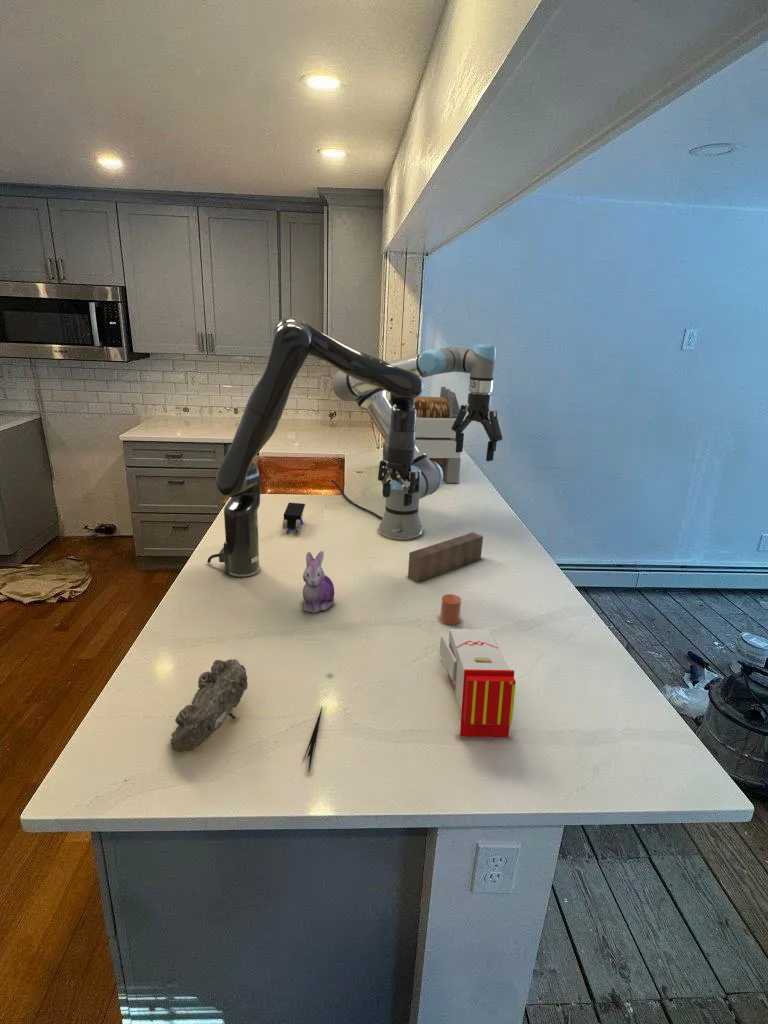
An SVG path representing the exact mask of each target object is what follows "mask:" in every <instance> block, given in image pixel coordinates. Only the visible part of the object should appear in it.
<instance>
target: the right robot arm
mask: <svg viewBox="0 0 768 1024" xmlns="http://www.w3.org/2000/svg"><path fill="white" fill-rule="evenodd" d="M496 358H497V347H496V345H495V344H493V343H481V342H479V343H477V342H476V343H473V345H472V348H461V347H452V346H446V347H445V346H443V347H440V348H431V349H427V350H425V351H423V352H421V353H417V354H412V355H409V356H405V357H401V358H398V359H397V358H396V359H394V360H390V361H386V362H387V363H389V364H391V365H393V366H396V367H399V368H402V369H406V370H409V371H411V372H413V373H415V374H417V375H418V376H419V377H420V378H421V379H422V378H423V379H424V378H428V377H432V376H437V375H441V374H448V373H464V374H465V373H466V374H469V384H468V391H469V393H468V394H467V404H461V405H460V406H459V408H460V412H459V414H458V416H457V418H456V420H455V422H454V424H453V426H452V428H451V429H452V430H454V431H455V433H456V438H455V442H456V453H458V452H461V453H462V452H463V448H464V437H465V433H464V431H465V429H467V427H468V426H469V425H470V424H471V423H472V422H477V423H480V424H481V425H482V427H483V429H484V431H485V433H486V435H487V437H488V439H489V440H488V442H487V448H486V455H485V456H486V457H485V461H486V462H491V461H494V456H495V452H496V451H497V444H498V442H500V441H503V435H502V430H501V427H500V423H499V419H498V410H495V409H494V410H490V406H491V404H492V394H491V393H493V387H494V386H493V385H494V373H495V366H496V362H497V361H496V360H497V359H496ZM331 383H332V384H331V386H332V391H333V393H334V394H335V396H336V397H337V398H338V399H340V400H341V401H343V402H356V404H357V405H358V407H359V409H360V410H364V411H366V412H367V414H368V416H369V417H370V419H371V421H372V422H373V424H374V425H375V427H376V428H377V431H379V433H380V435H381V436H382V438H383V441H384V440H385V441H386V443H387V445H388V435H389V430H390V419H391V405H390V404H389V400H388V399H387V395H388V391H386V390H384V389H382V388H379V387H376V386H372V385H369V384H367V383H364V382H362V381H359V380H357V379H355V378H353V377H350V376H349V375H347V374H345V373H343V372H342V371H340V370H339V371H338V372H336V373H335V375H334V376H333V378H332V381H331ZM463 420H464V421H463ZM462 421H463V422H462ZM461 432H462V433H461ZM385 441H384V442H385ZM411 470H412V471H419V472H420V481H419V492H417V493H413V494H412V503H411V505H410V506H404V505H403V502H404V493H405V491H404V489H403V487H402V486H401V484H400V483H399V482H397V481H396V480H392V482H391V483H390V484H391V489H390V496H389V497H386V498H385V504H384V505H385V507H384V508H385V509H384V513H383V515H382V516H381V515H379V514H378V513H376V512H373V511H372V510H370V509H367V508H365V507H363V506H361V505H359V504H357V503H355V502H354V501H352V500H351V499H350V498H348V496H347V495H346V494H345V493H344V491H343V489H341V487H340V485H339V484H338V483H337V482H336V481H335V480H333V479H331V480H330V482H331V483H332V484H334V485H335V486H336V487H337V489H338V491H339V492H340V493H341V495H342V497H343V498H344V499H345V500H346V501H348V503H350V504H351V505H353V506H354V507H357V508H358V509H360V510H361V511H362V510H363V511H364V512H367V513H369V514H371V515H373V516H375V517H376V518H378V519H379V520H381V522H379V526H378V533H379V534H380V535H381V536H382V537H385V538H387V539H389V540H395V541H410V540H415V539H418V538H420V537H421V536H422V535H423V525H422V524H421V518H420V515H419V507H420V506H419V505H420V500H421V499H423V498H426V497H427V496H429V495H433V494H434V493H436V492H437V491H438V490H439V489H440V488H441V487H442V486H443V481H444V478H443V471H442V469H441V467H440V466H439V465H438V464H437V463H436V462H433V461H430V460H429V458H428V457H427V455H426V454H425V453H421V452H419V450H418V449H417V447H416V445H415V451H414V462H413V463H412V465H411ZM405 482H408V481H407V480H406V481H405ZM407 487H408V486H407ZM414 488H415V485H414ZM408 489H409V487H408Z"/></svg>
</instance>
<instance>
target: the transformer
mask: <svg viewBox="0 0 768 1024" xmlns="http://www.w3.org/2000/svg"><path fill="white" fill-rule="evenodd" d="M388 402H389V404H390V405H391V397H390V398H389V400H388ZM414 407H415V410H416V413H417V420H416V432H415V434H416V441H415V445H416V447H417V449H418V450H419V452H421V453H425V454H426V455H427V457H428V458H429V460H430V461H433V462H436V463H437V464H438V465H439V466H440V467H441V469H442V471H443V480H444V481H445V482H446V484H459V483H460V475H461V473H460V472H461V471H460V470H461V462H462V458H461V453H462V452H458V453H456V442H455V438H456V433H455V431H454V430H452V429H451V428H452V426H453V424H454V422H455V420H456V418H457V416H458V414H459V412H460V405H459V402H458V398H457V395H456V392H454V391H451V389H450V388H446V386H441V387H440V394H439V396H418V397H416V398H414ZM464 420H465V419H463V421H464ZM463 421H462V422H463ZM461 433H463V432H461ZM382 442H383V443H382V461H383V460H386V458H387V443H386V441H385V440H384V439H383V441H382Z"/></svg>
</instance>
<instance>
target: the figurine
mask: <svg viewBox="0 0 768 1024" xmlns="http://www.w3.org/2000/svg"><path fill="white" fill-rule="evenodd" d="M324 556H325V552H324V551H323V550H320V551H319V552H318V553H317V555H316V557H315V558H314V556H313V555H312V552H311V551H308V552H306V556H305V563H306V567H305V568H304V571H303V574H302V579H303V581H304V583H305V584H304V585H303V588H302V596H303V602H302V604H303V609H304V612H308V613H309V612H310V613H318V612H321V611H322V612H323V611H326V610H327V609H329V608H330V607H332V606H333V604H334V600H335V587H334V582H333V581H332V580H331V578H330V577H329V576H327V575H326V574H325V571H324V569H323V567H322V564H323V560H324Z"/></svg>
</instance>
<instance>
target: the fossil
mask: <svg viewBox="0 0 768 1024" xmlns="http://www.w3.org/2000/svg"><path fill="white" fill-rule="evenodd" d="M197 683H198V684H197V687H198V690H197V691H196V693H195V694H194V697H193V698H192V701H191V704H187V705H185V706H184V707H183V708H182V709H181V710H179V712H178V713H177V715H176V717H175V719H174V721H175V723H176V725H177V726H176V728H175V730H174V731H173V732H172V733H171V735H170V736H171V738H170V747H171V750H172V751H176V752H178V753H186V752H190V751H193V752H195V751H197V750H198V749H199V748H200V747H201V746H202V745H203V744H204V743H205V742H207V741H208V740H209V739H210V737H211V736H212V735H213V734H215V733H216V731H218V730H219V729H220V728H221V726H222V725H223V723H224V721H225V720H226V719H227V718H228V717H230V718H232V720H235V719H236V716H235V715H234V714H233V713H232V710H233V709H235V708H237V706H238V705H239V704H240V702H241V700H242V698H243V696H244V693H245V691H246V690H247V689H248V686H249V685H248V675H247V669H246V668H245V666H244V665H243V664H241V663H240V661H238V660H237V659H236V658H234V659H232V658H230V659H226V660H221V659H216V660H214V661H213V662H212V665H211V667H210V671H208V670H207V671H205V672H201V674H200V675H199V676H198V681H197Z"/></svg>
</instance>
